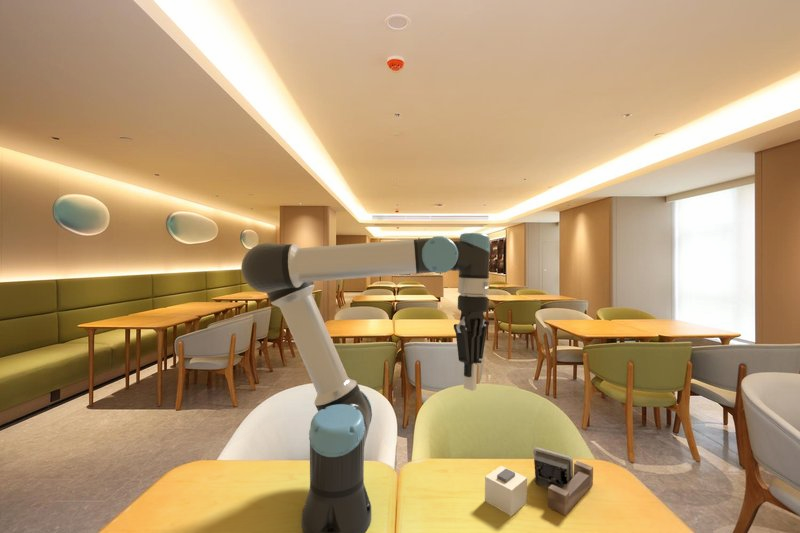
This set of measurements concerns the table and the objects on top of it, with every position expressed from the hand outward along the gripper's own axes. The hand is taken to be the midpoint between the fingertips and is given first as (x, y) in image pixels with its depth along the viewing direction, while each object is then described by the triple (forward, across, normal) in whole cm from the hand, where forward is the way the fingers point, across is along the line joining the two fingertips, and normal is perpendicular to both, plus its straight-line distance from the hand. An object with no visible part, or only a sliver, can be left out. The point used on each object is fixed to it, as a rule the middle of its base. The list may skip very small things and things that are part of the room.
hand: (469, 388), depth 92 cm
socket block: (+25, +2, -10) cm, 27 cm away
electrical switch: (+25, +16, -16) cm, 33 cm away
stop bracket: (+25, +16, -21) cm, 36 cm away
